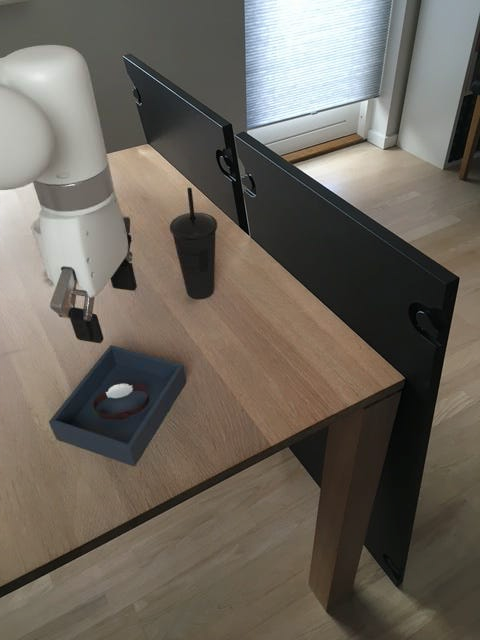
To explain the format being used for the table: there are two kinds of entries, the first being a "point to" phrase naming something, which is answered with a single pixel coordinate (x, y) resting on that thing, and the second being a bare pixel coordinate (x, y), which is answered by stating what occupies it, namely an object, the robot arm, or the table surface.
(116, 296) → the table surface
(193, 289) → the drinking cup
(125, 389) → the watch
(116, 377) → the tray
